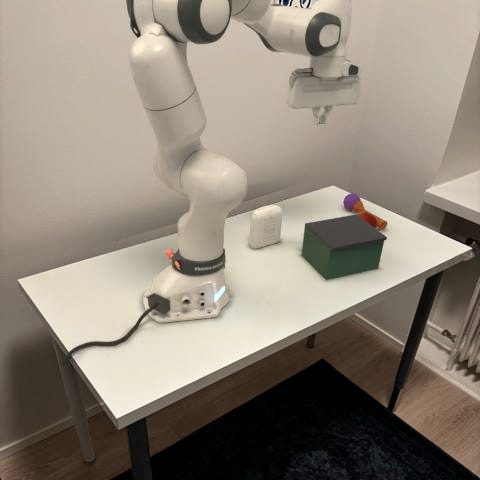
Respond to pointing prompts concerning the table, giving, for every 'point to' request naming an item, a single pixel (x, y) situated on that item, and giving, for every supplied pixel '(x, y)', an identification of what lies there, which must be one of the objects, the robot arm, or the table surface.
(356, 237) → the bin lid
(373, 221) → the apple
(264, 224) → the photo printer
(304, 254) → the bin
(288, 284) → the table surface
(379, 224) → the kendama
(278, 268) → the table surface
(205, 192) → the robot arm
